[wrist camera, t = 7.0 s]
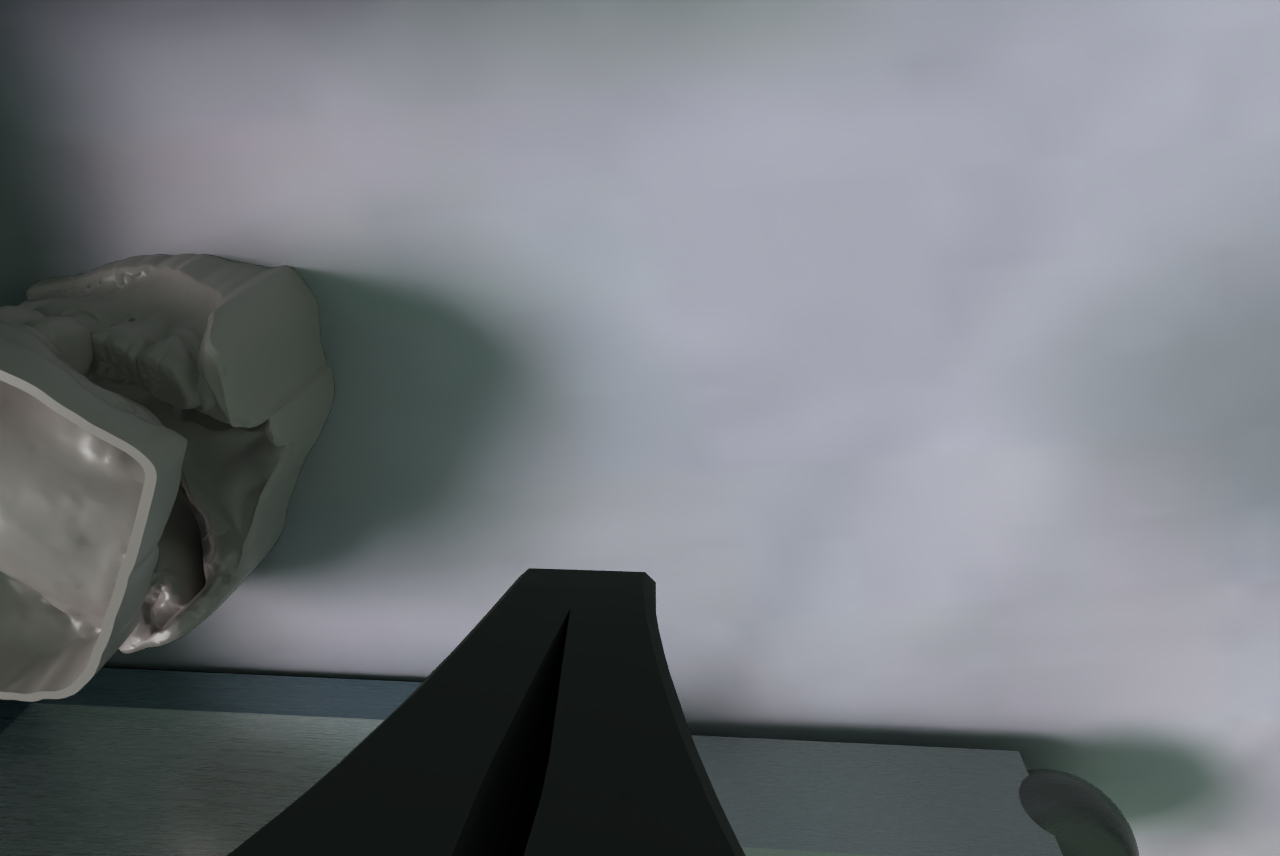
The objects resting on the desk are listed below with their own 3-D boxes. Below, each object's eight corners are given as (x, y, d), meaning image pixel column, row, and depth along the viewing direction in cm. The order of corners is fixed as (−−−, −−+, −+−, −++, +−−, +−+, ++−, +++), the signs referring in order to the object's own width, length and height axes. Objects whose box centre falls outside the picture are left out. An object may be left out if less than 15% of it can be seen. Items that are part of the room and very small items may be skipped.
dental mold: (72, 113, 15) (-204, 150, 10) (407, 345, 16) (291, 466, 12) (-59, 435, 18) (-317, 570, 14) (233, 608, 19) (86, 783, 15)
